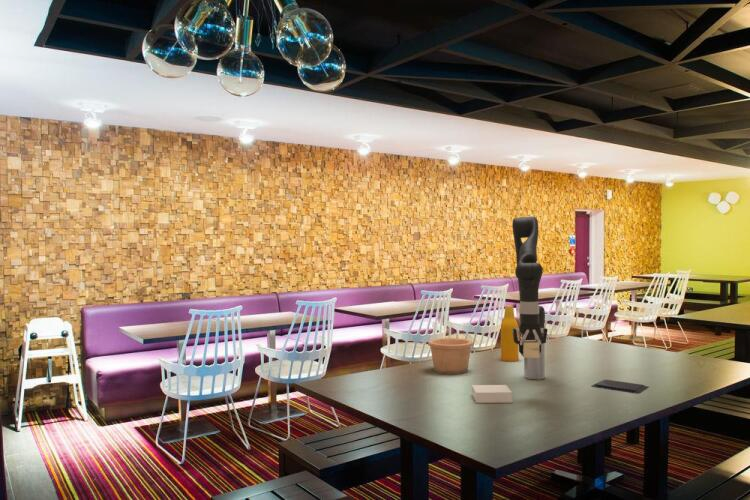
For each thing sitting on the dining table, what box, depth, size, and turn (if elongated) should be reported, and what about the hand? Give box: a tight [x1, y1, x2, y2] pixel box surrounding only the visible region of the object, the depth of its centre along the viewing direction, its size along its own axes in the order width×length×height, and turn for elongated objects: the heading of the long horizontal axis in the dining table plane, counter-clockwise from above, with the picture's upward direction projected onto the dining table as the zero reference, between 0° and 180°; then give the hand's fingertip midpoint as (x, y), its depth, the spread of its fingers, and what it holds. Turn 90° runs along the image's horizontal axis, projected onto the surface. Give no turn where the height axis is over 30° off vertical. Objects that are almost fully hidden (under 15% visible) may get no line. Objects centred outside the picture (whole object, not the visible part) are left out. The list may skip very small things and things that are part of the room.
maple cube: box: [520, 340, 539, 359], centre depth 229 cm, size 6×6×6 cm
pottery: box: [427, 337, 474, 375], centre depth 280 cm, size 22×22×14 cm
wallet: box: [590, 379, 650, 395], centre depth 244 cm, size 20×2×15 cm
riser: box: [471, 384, 513, 404], centre depth 228 cm, size 12×14×4 cm
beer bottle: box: [500, 305, 520, 362], centre depth 304 cm, size 9×9×29 cm
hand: (529, 353), depth 229 cm, fingers closed on maple cube, 6 cm apart
